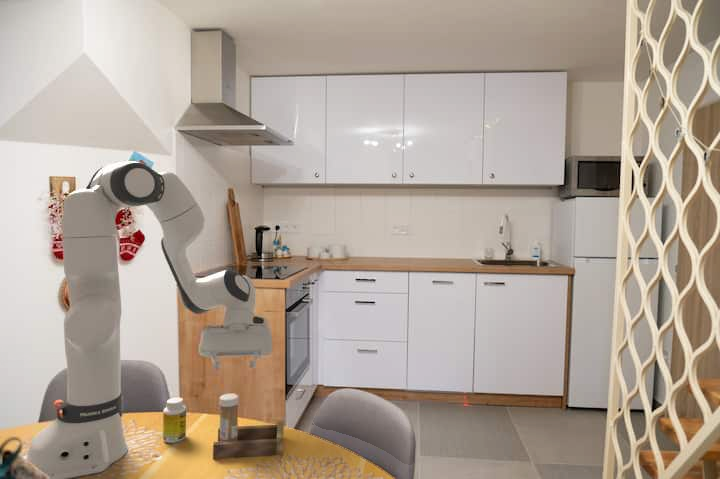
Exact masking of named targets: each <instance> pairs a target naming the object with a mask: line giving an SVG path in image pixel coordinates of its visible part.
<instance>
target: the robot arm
mask: <svg viewBox="0 0 720 479" xmlns="http://www.w3.org/2000/svg"><path fill="white" fill-rule="evenodd" d="M140 206H146V207H147V208H148V209H149V210H150V211H151V212H152V213H153V215H154V216H155V218H156V220H157V221H158V223H159V225H160V227H161V230H162V234H163V236H162V237H161V241H160V245H161V250H162V253H163V254H164V258H165V260H166V262H167V264H168V267H169V269H170V272H171V274H172V276H173V278H174V281H175V282H176V285H177V287H178V290H179V292H180V297H181V300H182V303H183V305H184V307H185V308H186V309H187V310H188V311H189V312H191V313H194V314H196V315H202V314H204V313H207V312H208V311H211V310H213V309H216V308H220V307H222V306H224V307H225V311H224V315H223V323H222V325H221V324H219V325H218V324H217V325H206V326H205V327H203V328H202V329H201V330H200V333H199V334H200V340H199V345H198V353H199V354H200V356H201V357H203V358H204V357H205V358H206V357H207V358H208V357H209V358H210V359H211V361H212V363H213V370H214V371H220V370H221V362H220V361H217V360H218V357H239V356H240V357H241V356H242V357H244V356H245V357H248V356H254V357H253V359H252V360H249V365H248V367H249V370H256V364H257V362H258V361H259V359H260V356H270V355H271V354H272V353H273V339H272V338H273V337H272V331H271V329H270V326H269V323H270V322H269V320H268V319H267V318H266V317H262V316H258V315H255V312H254V310H255V308H256V300H257V299H256V297H257V296H256V286H255V283H254V281H253V280H252V278H250V277H249V276H247V275H242V274H241V273H239V272H238V271H237V270H234V269H232V268H230V269H225V270H224V269H223V270H221V271H218V272H215V273H213V274H210V275H207V276H204V277H202V278H198V277H197V276H195V274H194V271H193V269H192V267H191V265H190V262H189V260H188V257H187V254H186V252H187V248H188V247H189V246H190V245H192V243H194V241H196V240H197V238H199V236H200V234H202V232H203V230H204V228H205V221H206V219H205V215H204V213H203V211H202V209H201V207H200V205H199V204H198V202H197V201H196V198H195V197H194V195H193V194H192V192H191V191H190V190H189V188H188V187H187V186H186V184H184V182H183V181H182V180H181V179H180V177H179V176H178V175H176V174H175V172H171V171H161V172H157V171H155V170H154V169H152V167H150V166H148V165H147V164H145V163H143V162H138V161H133V160H132V161H131V160H129V161H124V162H123V161H119V162H114V163H111V164H108V165H106V166H103V167H100V168H99V169H98V170H97V171H96V172H94V174H93V175H92V177H91V179H90V181H89V183H88V185H86V188H82V189H78V190H77V189H76V190H75V191H73V192H71V193H69V194H68V195H67V196H66V197H65V199H64V203H63V208H62V216H61V241H62V256H63V257H62V258H63V272H64V276H65V281H66V286H67V292H68V293H67V294H68V300H69V309H68V311H67V313H65V315H64V319H63V334H64V337H63V338H64V349H65V350H64V351H65V360H66V367H67V368H66V369H67V376H66V377H67V389H66V390H67V395H66V396H67V399H66V400H65V401H64V400H62V399H57V400H55V401H54V402H53V409H54V410H56V419H53V421H52V422H51V423H49V424H48V425H47V426H45V427H44V428H43V429H41V430H40V431H39V432H38V433H37V434H35V435H34V437H33V438H32V439H31V441H30V443H29V446H28V450H27V453H26V455H24V456H23V457H22V458H24V459H26V460H27V461H29V462H30V463H32V464H33V465H35V467H37V468H38V469H39V470H41V471H42V472H44V473H45V474H47V475H48V476H49V478H50V479H72V478H76V477H81V476H88V475H92V474H98V473H102V472H103V471H105V470H107V469H108V468H109V466H110V465H112V464H113V463H114V462H116V461H118V460H120V459H121V458H122V457H123V456H124V455H126V453H127V452H128V449H129V448H128V444H127V442H126V437H125V433H124V429H123V428H124V426H123V422H122V421H123V420H122V417H123V412H124V397H123V393H122V392H121V371H122V370H121V368H122V367H121V361H122V360H121V318H122V300H121V299H122V298H121V285H120V276H119V264H118V263H119V262H118V261H119V260H118V242H117V230H116V217H117V215H118V212H119V211H120V209H121V208H124V209H125V208H127V209H128V208H133V207H140Z"/></svg>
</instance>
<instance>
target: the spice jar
mask: <svg viewBox="0 0 720 479" xmlns="http://www.w3.org/2000/svg"><path fill="white" fill-rule="evenodd" d="M238 405H239V395H238V394H236V393H224V394H222V395H221V396H220V397H219V410H220V411H219V412H220V413H219V427H220V442H224V441H237V435H238V425H239V423H238V421H239V418H238V417H239V416H238V415H239V414H238V413H239V412H238V407H239V406H238Z"/></svg>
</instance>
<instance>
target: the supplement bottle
mask: <svg viewBox="0 0 720 479" xmlns="http://www.w3.org/2000/svg"><path fill="white" fill-rule="evenodd" d="M162 411H163V412H162V419H163V420H162V440H163V441H164V442H165V443H168V444H170V443H171V444H174V443H179V442H182V441H183V440H184V439H185V438H186V436H187V407H186V406H185V405H184V399H183V398H182V397H171V398H168V399H167V401H166V407H164V409H163V410H162Z"/></svg>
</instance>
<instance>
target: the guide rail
mask: <svg viewBox="0 0 720 479" xmlns="http://www.w3.org/2000/svg"><path fill="white" fill-rule="evenodd" d="M284 425H285V421H284V420H277V424H263V425H262V424H261V425H242V426H238V435H237V441H224V442H220V426H219V427H218V430H217V441H214V442H213V445H212V460H224V459H225V460H226V459H241V458H258V457H260V458H261V457H278V456H284V435H285V434H284V431H285V428H284V427H285V426H284Z"/></svg>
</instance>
